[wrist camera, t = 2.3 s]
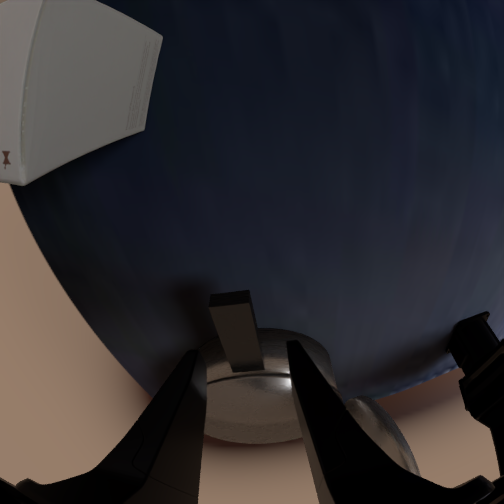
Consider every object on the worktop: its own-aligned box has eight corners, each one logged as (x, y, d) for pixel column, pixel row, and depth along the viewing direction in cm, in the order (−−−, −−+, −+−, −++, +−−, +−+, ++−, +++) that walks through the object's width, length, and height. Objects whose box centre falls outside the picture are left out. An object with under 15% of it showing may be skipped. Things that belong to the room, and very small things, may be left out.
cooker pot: (338, 247, 22) (361, 296, 17) (329, 397, 35) (336, 433, 30) (137, 275, 24) (113, 324, 18) (210, 409, 37) (207, 444, 31)
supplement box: (166, 34, 14) (57, -25, 3) (145, 132, 17) (24, 195, 7) (79, 37, 13) (-50, 29, 2) (65, 126, 16) (-61, 181, 6)
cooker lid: (352, 364, 21) (362, 360, 21) (336, 434, 30) (343, 431, 30) (436, 540, 6) (449, 531, 6) (377, 538, 15) (385, 535, 15)
